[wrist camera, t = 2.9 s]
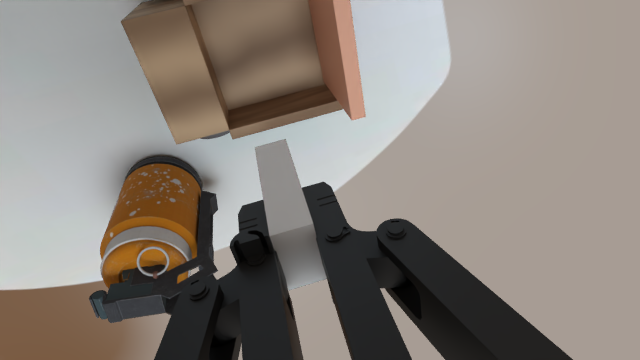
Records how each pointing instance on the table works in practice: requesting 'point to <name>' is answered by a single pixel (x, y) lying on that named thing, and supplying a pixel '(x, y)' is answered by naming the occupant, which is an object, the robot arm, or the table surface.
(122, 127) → the table surface
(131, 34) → the truck
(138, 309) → the canister
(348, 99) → the panel
